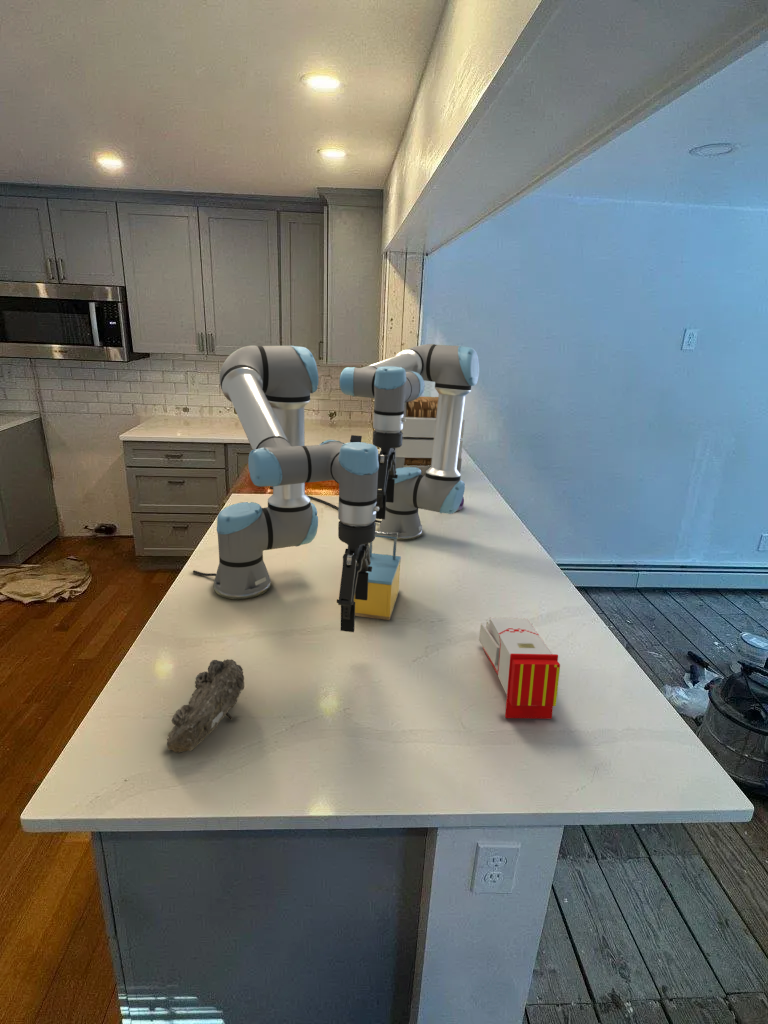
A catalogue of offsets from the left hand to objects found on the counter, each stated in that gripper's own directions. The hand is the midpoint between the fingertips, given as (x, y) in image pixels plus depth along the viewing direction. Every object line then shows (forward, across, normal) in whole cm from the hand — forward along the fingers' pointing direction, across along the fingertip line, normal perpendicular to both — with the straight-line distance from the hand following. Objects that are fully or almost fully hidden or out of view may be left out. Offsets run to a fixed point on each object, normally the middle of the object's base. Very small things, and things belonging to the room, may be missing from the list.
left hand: (354, 614), depth 121 cm
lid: (+3, +30, 0) cm, 30 cm away
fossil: (+13, -22, +23) cm, 34 cm away
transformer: (+13, +161, +3) cm, 161 cm away
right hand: (-12, +35, 0) cm, 37 cm away
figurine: (+13, +113, -16) cm, 115 cm away
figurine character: (+13, +194, +42) cm, 199 cm away
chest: (+13, +29, 0) cm, 32 cm away
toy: (+13, +4, -34) cm, 37 cm away
